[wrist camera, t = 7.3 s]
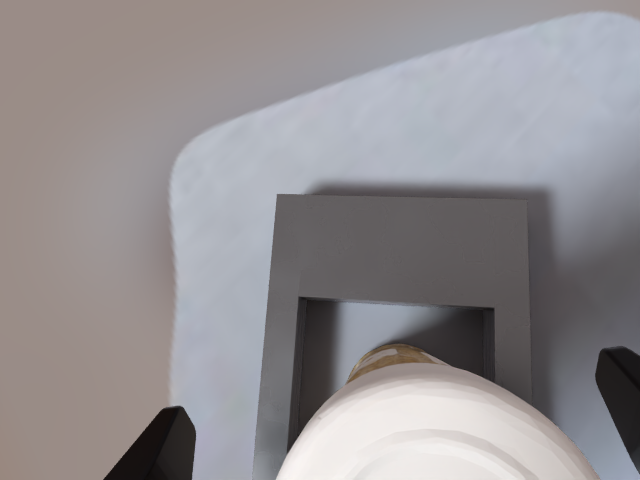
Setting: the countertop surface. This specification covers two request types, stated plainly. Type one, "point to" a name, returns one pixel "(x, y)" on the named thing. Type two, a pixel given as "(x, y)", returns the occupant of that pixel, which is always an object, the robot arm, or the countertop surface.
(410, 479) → the sprinkles bottle
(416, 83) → the countertop surface
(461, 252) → the gray rectangular frame
